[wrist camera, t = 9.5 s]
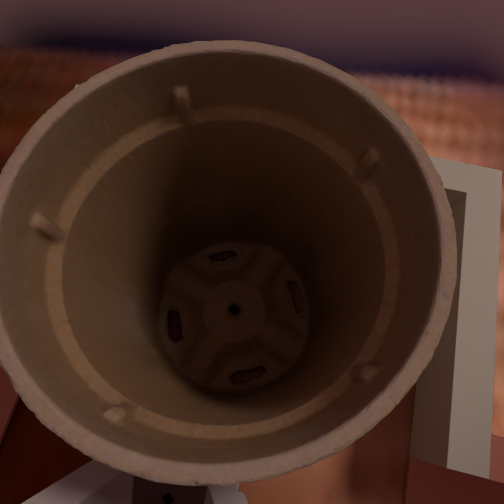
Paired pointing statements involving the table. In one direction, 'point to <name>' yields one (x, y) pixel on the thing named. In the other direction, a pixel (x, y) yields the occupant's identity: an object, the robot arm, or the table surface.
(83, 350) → the flower pot
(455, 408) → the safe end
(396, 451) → the table surface
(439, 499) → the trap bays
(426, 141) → the table surface
